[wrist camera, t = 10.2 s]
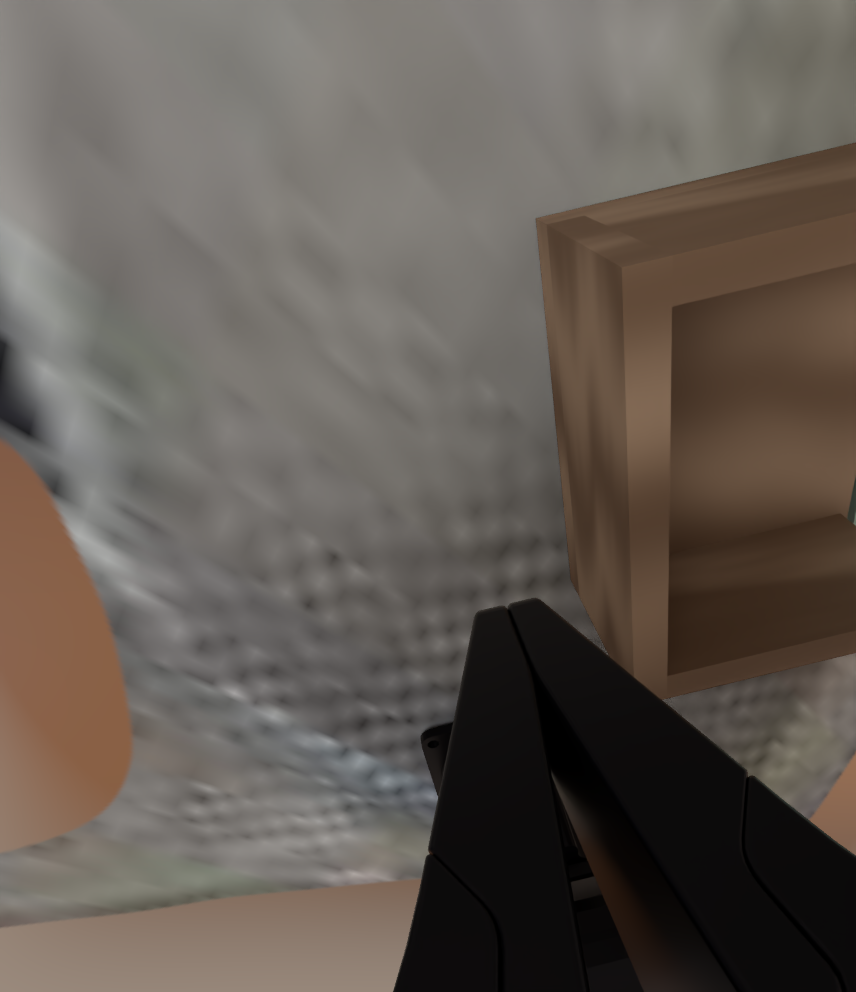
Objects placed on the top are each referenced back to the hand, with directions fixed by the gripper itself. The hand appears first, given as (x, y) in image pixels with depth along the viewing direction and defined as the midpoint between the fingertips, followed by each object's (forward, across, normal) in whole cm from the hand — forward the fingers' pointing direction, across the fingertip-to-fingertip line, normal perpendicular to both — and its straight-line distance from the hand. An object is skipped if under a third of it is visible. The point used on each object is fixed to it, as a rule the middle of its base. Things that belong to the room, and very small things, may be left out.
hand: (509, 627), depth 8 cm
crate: (+12, -9, +4) cm, 16 cm away
